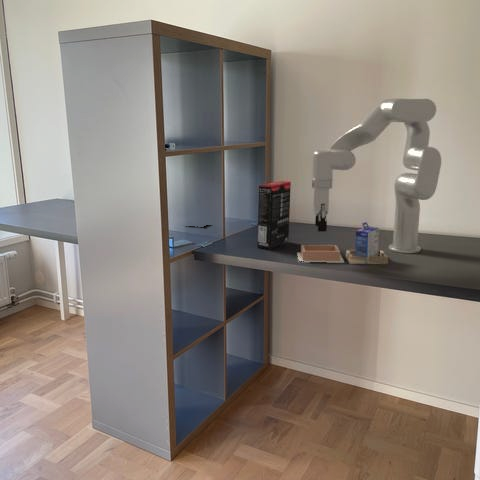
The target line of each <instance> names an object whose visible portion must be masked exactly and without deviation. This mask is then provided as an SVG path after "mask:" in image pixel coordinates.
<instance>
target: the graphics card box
mask: <svg viewBox="0 0 480 480" xmlns="http://www.w3.org/2000/svg"><path fill="white" fill-rule="evenodd" d="M291 185H292V183H291V181H288V180H287V181H286V180H280V181H274V182H271V183H270V182H269V183H265V184H259V185H258V206H257V207H258V210H257V211H258V213H257V243H256V245H257V248H259V249H264V250H273V249H275V248H278V247H280V246H282V244H283V245H284V244H288V243H289V240H290V239H289V236H290V235H289V233H290V232H289V231H290V213H291V212H290V210H291V204H290V203H291V188H292V187H291ZM277 246H278V247H277Z"/></svg>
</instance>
